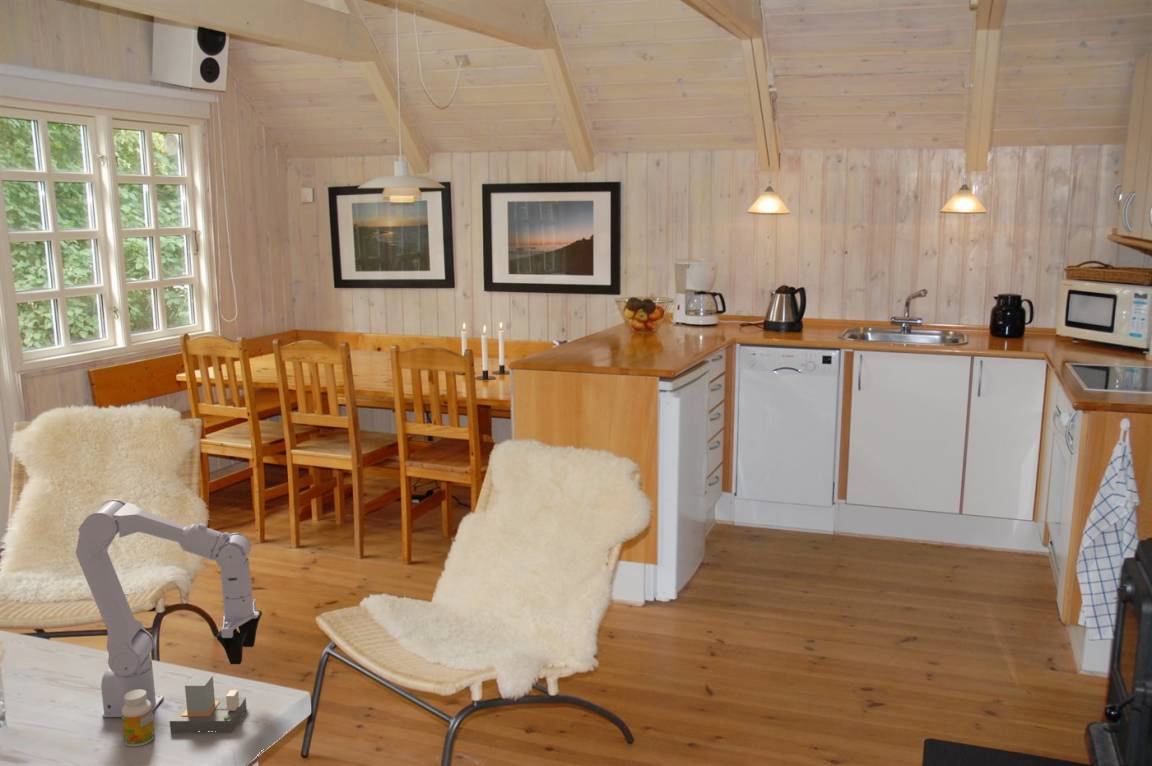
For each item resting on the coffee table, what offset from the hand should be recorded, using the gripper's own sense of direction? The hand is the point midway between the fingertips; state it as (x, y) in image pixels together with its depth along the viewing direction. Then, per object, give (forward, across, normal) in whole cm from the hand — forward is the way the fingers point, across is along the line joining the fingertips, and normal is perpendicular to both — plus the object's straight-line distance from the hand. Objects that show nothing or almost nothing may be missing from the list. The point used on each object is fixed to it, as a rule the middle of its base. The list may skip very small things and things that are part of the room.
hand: (242, 654), depth 200 cm
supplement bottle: (+11, -15, +16) cm, 24 cm away
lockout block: (+8, -8, +6) cm, 13 cm away
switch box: (+10, -8, +5) cm, 14 cm away
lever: (+8, -8, 0) cm, 11 cm away
